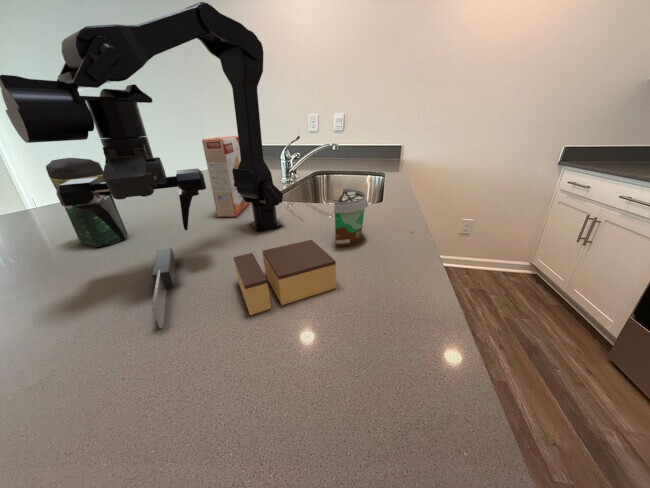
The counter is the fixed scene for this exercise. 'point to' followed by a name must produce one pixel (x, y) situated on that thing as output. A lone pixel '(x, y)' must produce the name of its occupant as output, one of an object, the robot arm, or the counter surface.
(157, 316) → the knife
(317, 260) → the cake
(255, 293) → the cake slice
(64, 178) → the coffee jar
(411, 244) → the counter surface
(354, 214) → the food container
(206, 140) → the cracker box
